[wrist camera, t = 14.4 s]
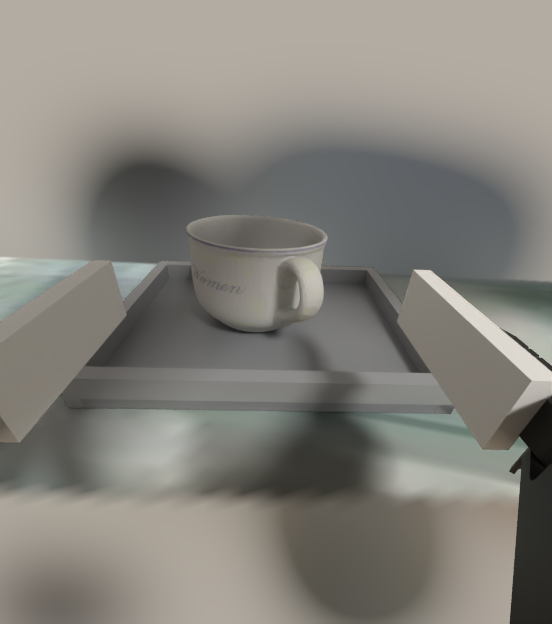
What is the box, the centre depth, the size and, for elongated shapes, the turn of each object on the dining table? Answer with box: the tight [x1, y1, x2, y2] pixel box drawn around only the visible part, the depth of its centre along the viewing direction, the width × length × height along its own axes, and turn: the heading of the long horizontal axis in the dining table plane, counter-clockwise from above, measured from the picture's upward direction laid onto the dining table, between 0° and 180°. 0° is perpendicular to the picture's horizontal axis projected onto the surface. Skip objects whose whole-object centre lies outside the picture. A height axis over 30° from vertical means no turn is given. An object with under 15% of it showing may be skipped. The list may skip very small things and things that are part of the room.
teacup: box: [186, 215, 328, 332], centre depth 22 cm, size 14×11×8 cm
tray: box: [61, 261, 454, 414], centre depth 24 cm, size 24×18×2 cm
